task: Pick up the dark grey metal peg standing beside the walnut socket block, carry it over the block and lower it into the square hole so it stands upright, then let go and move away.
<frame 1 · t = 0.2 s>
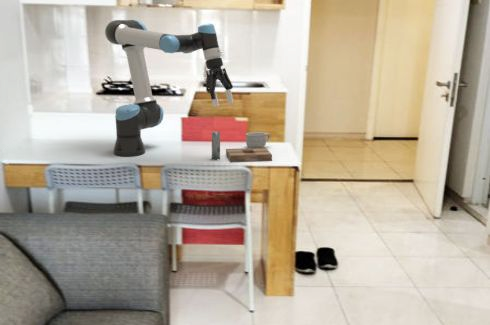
hand: (223, 105, 242), 27 cm above the table, tool tilted 15°, fingers open, 13 cm apart
socket block: (248, 157, 258), on the table
peg: (215, 158, 255), on the table
teacup: (258, 148, 277), on the table
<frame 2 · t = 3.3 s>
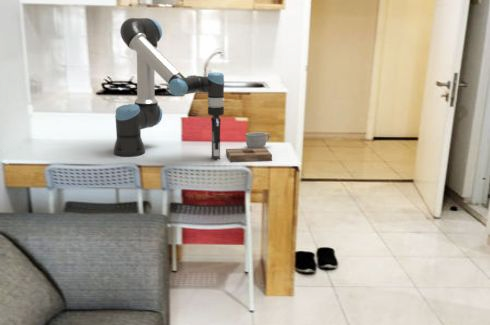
hand: (215, 154, 254), 2 cm above the table, tool pointing down, fingers closed on peg, 4 cm apart
peg: (215, 158, 255), on the table, touching gripper
everything else where it was.
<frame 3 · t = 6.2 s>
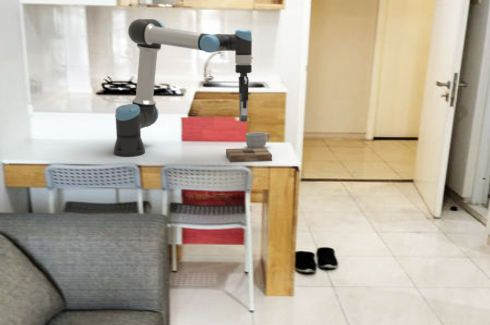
hand: (243, 114, 251), 22 cm above the table, tool pointing down, fingers closed on peg, 4 cm apart
peg: (243, 120, 252), point 18 cm above the table, touching gripper
everything else where it was.
when the fingers open (5 cm above the table, at t = 8.9 s): peg stays where it is, resting in socket block.
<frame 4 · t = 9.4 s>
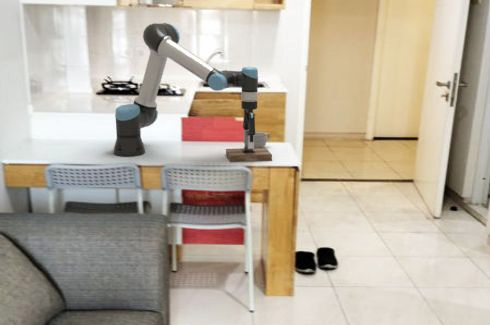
hand: (248, 145, 256), 6 cm above the table, tool pointing down, fingers open, 11 cm apart
peg: (248, 157, 258), resting in socket block
everything else where it was.
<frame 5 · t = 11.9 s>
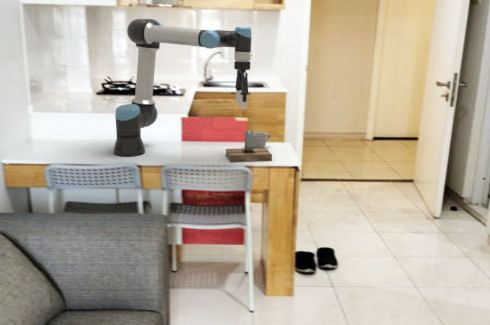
hand: (241, 106, 252), 25 cm above the table, tool pointing down, fingers open, 13 cm apart
nothing on the table moved.
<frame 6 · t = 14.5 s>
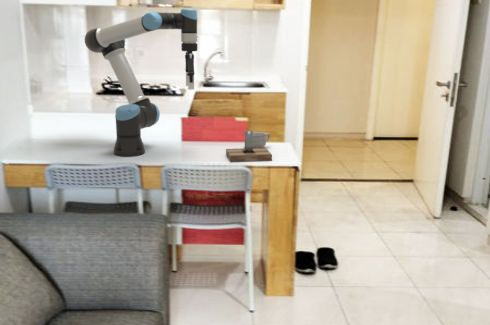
hand: (189, 87, 256), 33 cm above the table, tool pointing down, fingers open, 13 cm apart
nothing on the table moved.
at the end: peg 0.0 cm off-centre on the socket block, point 0.0 cm above the socket block's base; peg tilted 0°; the gripper is holding nothing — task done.
